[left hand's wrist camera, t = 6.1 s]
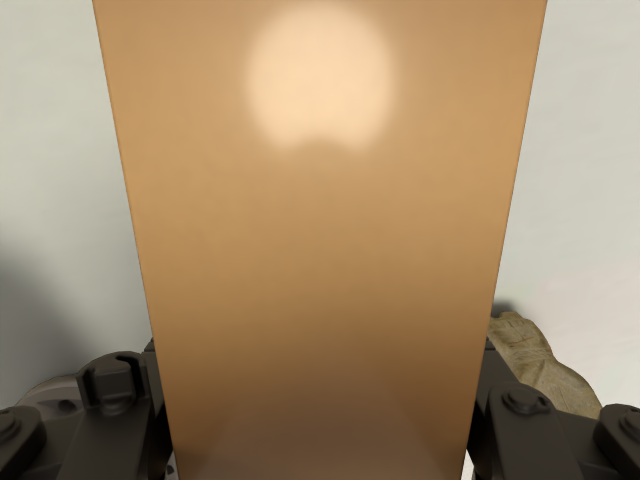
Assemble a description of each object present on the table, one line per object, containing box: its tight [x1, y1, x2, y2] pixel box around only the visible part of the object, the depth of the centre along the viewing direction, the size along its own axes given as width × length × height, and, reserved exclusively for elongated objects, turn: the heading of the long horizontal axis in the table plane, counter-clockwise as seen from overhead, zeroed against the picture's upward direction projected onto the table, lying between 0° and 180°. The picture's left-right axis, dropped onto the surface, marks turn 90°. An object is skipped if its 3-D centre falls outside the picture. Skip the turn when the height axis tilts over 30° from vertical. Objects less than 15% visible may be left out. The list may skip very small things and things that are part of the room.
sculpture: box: [487, 311, 602, 419], centre depth 23 cm, size 6×7×15 cm
